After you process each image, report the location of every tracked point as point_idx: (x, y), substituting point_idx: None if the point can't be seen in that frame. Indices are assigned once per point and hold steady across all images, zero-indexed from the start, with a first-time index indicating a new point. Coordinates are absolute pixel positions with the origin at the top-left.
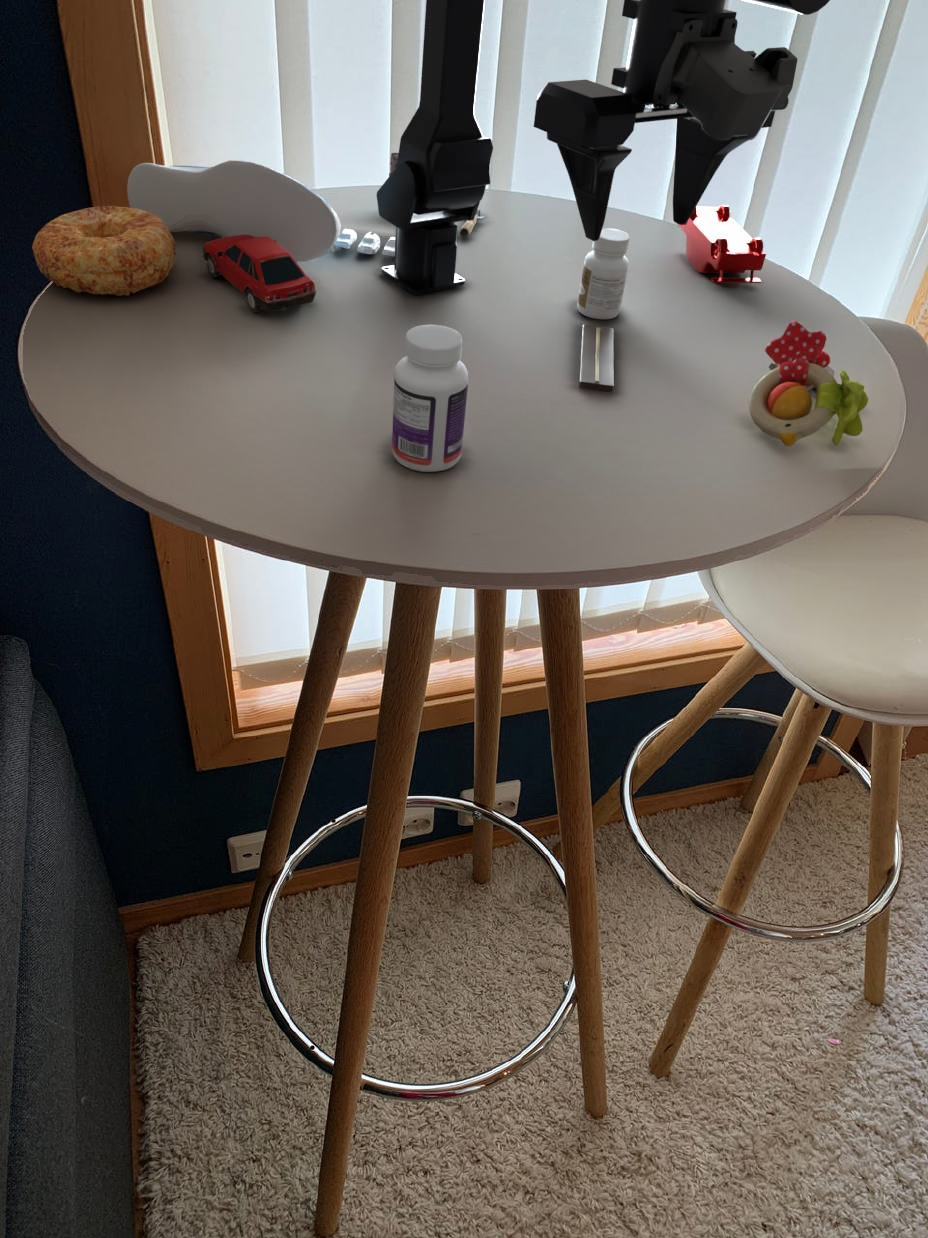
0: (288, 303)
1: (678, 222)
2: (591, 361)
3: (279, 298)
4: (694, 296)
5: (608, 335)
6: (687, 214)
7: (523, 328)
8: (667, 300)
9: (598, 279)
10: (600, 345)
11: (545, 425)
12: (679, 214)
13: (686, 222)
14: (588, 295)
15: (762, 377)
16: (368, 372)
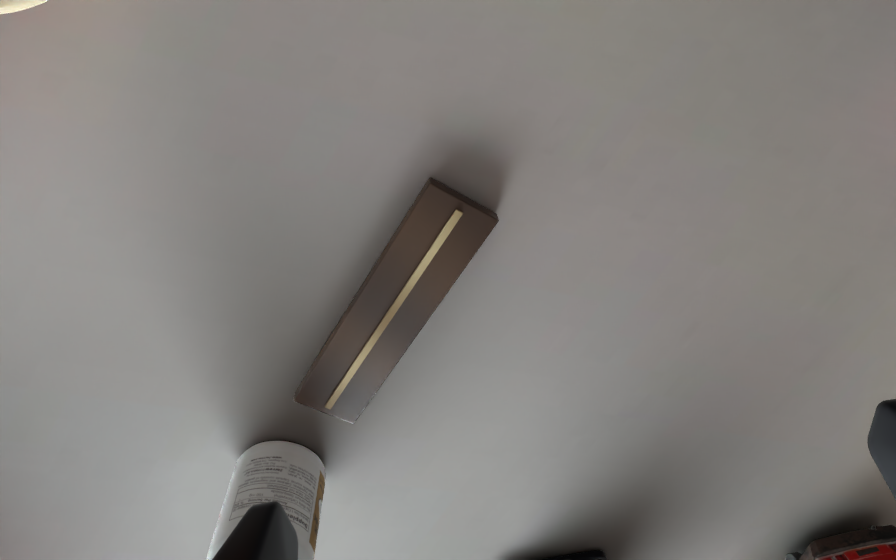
0: (870, 535)
1: (287, 518)
2: (421, 291)
3: (891, 544)
4: (24, 490)
5: (320, 378)
6: (254, 543)
7: (473, 436)
8: (98, 484)
9: (298, 518)
10: (361, 346)
11: (679, 78)
12: (281, 557)
13: (252, 508)
14: (315, 492)
15: (14, 7)
16: (860, 352)
